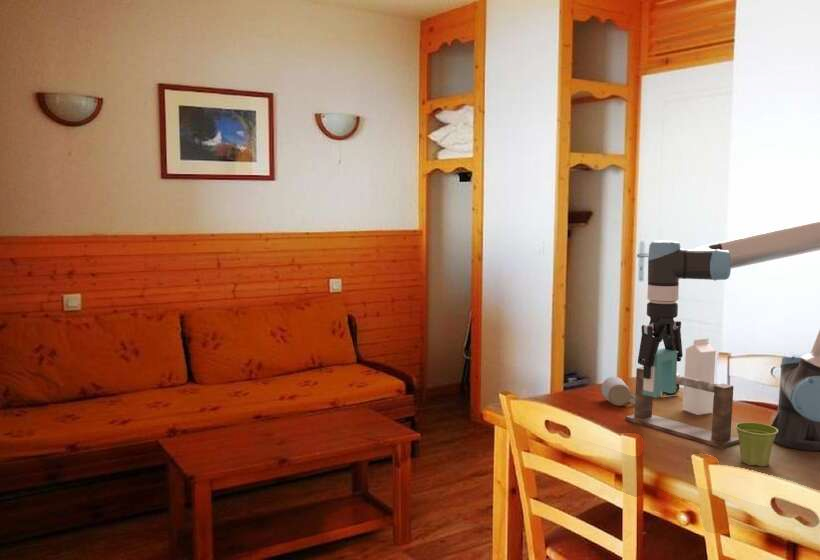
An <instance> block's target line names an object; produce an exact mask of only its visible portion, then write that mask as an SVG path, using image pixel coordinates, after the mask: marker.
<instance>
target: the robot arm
mask: <svg viewBox="0 0 820 560" xmlns="http://www.w3.org/2000/svg"><path fill="white" fill-rule="evenodd" d="M818 251H820V219H817V220H816V219H815V220H812V221H807V222H803V223H799V224H795V225H790V226H785V227H782V228H781V227H780V228H777V229H771V230H768V231H763V232H760V233H759V232H758V233H753V234H750V235H746V236H742V237H741V236H740V237H736V238H732V239H728V240H724V241H720V242H715V243H710V244H706V245H704V244H700V245H697V246H694V247H692V248H691V249H686V248H685V249H684V248H681V243H680V242H679V241H677V240H654V241H652V242H650V244H649V247H648V256H647V257H648V258H647V300H649V301H647V302H646V315H647V317H649V318H650V320H649V324H647V325H644V324H642V325H641V337H640V345H639V352H638V357H637V358H638V359H637V364H639V365H641V366H642V367H644V369H643V372H644V373H643V377H644V385H643V390H645V391H650V392H654V380H655V366H653V363H654V359H655V354H656V353H657V350H658V349H659V345H660V343H661V342H663V345H664V348H665V349H668V350H676V351H677V362H681V361H682V358H683V346H682V345H683V343H682V332H681V327H682V321H681V320H674V318H678V315H679V314H678V312H679V303H677V301H678V300H679V284H680V283H679V280H680V279H683V280H705V281H706V280H708V281H710V280H711V281H721V280H724V281H726V280H728V279H729V278H730V276H731V269H735V268H741V267H745V266H751V265H754V264H759V263H763V262H769V261H774V260H779V259H784V258H788V257H792V256H798V255H803V254H806V253H813V252H818ZM780 363H781V364H780V376H779V390H778V391H779V392H778V408H777V411H776V414H775V416H774V418H773V420H772V423H771V425H770V426H773V427H775V428H777V429H778V433H777V434H776V436H775V439H774V441H773V443H775V444H778V445H779V446H783V447H786V448H790V449H795V450H801V451H808V452H809V451H810V452H811V451H812V452H820V451H819V450H820V329H819V331H818V333H817V335H816V338H815V340H814V344H813V346H812V348H811V351H810V352H808V353H806V354H804V355H801V354H799V355H798V354H786V355H783V357H782V358H781V362H780Z"/></svg>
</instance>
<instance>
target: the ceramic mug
mask: <svg viewBox="0 0 820 560" xmlns="http://www.w3.org/2000/svg"><path fill="white" fill-rule="evenodd" d="M601 393H602V395H603V396H604V398H605V399H606V400H607V401H608V402H609V403H610V404H611V405H614V406H616V407H623V406H625V405H627V404H628V403H630V404H632V405H635V395H633V394H631V393H632V392H631V390H630V388H629V386H628V385H627V384H626V383H625V381H624V380H623V379H621V378H620V377H618V376H610V377H607V378H606V379H605V380H604V381H603V382H602V384H601Z"/></svg>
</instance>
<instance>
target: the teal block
mask: <svg viewBox="0 0 820 560" xmlns="http://www.w3.org/2000/svg"><path fill="white" fill-rule="evenodd" d="M653 366H655V380H654V392H650V391H645V390H643V394H644V395H648V396H652V397H653V398H659V397H660V396H661V391H663V392H667V393H675V392H676V373H678V372H677V369H678V361H677V351H676V350H668V349H665V347H664V348H658V350H657V353H656V354H655V359H654V363H653ZM643 373H644V372H643ZM643 385H644V377H643ZM660 398H661V397H660Z"/></svg>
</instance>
